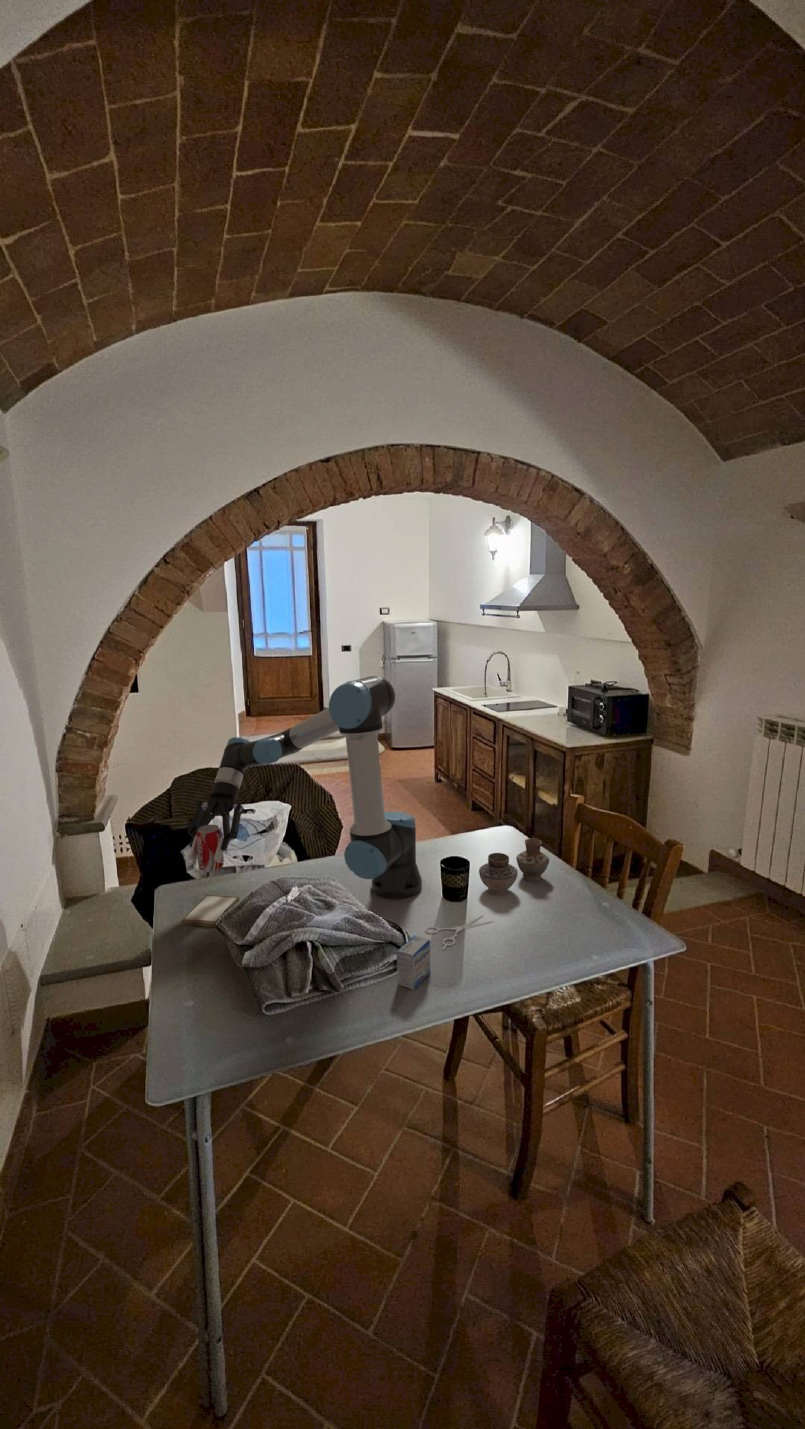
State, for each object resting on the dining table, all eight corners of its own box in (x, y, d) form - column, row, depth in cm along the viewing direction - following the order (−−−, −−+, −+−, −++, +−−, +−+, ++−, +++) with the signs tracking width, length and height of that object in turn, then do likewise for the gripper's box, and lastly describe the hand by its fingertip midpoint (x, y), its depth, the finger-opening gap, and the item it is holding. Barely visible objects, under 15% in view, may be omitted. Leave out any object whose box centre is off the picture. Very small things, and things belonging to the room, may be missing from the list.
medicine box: (413, 991, 139) (413, 956, 138) (396, 984, 142) (396, 950, 140) (431, 972, 146) (430, 939, 144) (414, 967, 148) (414, 933, 146)
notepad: (239, 900, 182) (239, 896, 181) (215, 927, 167) (215, 923, 167) (207, 897, 183) (207, 894, 183) (181, 924, 169) (180, 920, 169)
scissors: (418, 931, 163) (477, 908, 174) (418, 933, 163) (477, 910, 174) (443, 949, 155) (503, 924, 165) (443, 952, 155) (503, 927, 166)
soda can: (219, 873, 174) (216, 833, 171) (194, 873, 174) (190, 833, 171) (227, 862, 180) (224, 823, 178) (203, 862, 181) (200, 823, 178)
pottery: (556, 879, 192) (558, 843, 189) (497, 903, 178) (498, 864, 175) (529, 866, 201) (530, 831, 198) (471, 889, 187) (471, 851, 184)
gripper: (262, 793, 186) (242, 867, 174) (201, 790, 190) (177, 862, 178) (253, 781, 180) (232, 857, 168) (190, 778, 184) (165, 852, 172)
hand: (204, 860), depth 173 cm, fingers closed on soda can, 7 cm apart
